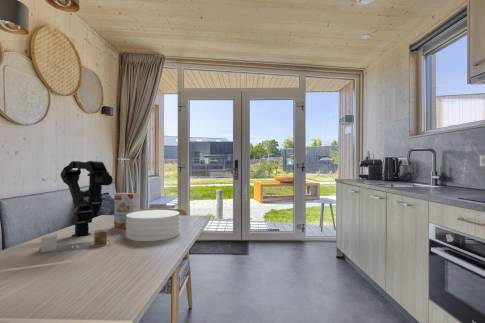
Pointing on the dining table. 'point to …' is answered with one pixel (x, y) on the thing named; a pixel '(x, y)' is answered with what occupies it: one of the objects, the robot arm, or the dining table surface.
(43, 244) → the grey block
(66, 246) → the board
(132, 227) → the plate stack
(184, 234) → the dining table surface
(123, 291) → the dining table surface
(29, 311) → the dining table surface
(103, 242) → the walnut block
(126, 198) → the cracker box
